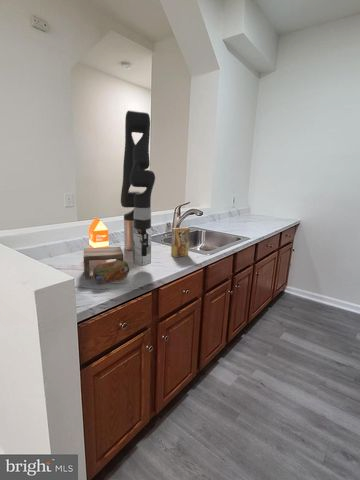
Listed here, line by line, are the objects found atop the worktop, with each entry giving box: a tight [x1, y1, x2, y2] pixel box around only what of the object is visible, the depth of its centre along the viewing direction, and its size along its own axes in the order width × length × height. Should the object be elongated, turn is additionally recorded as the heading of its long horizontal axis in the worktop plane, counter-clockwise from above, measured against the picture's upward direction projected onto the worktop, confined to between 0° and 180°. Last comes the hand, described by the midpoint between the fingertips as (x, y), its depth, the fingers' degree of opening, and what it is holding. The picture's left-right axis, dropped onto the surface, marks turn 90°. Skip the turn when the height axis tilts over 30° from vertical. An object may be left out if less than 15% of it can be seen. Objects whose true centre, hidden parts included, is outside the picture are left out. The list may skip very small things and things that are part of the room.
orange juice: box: [87, 217, 110, 248], centre depth 143 cm, size 8×9×20 cm
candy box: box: [170, 226, 190, 258], centre depth 149 cm, size 9×4×15 cm, turn 119°
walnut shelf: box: [83, 246, 124, 280], centre depth 121 cm, size 12×16×10 cm
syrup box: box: [132, 231, 152, 267], centre depth 123 cm, size 6×6×14 cm
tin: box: [92, 259, 130, 285], centre depth 113 cm, size 15×3×8 cm, turn 126°
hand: (142, 253), depth 124 cm, fingers closed on syrup box, 7 cm apart
